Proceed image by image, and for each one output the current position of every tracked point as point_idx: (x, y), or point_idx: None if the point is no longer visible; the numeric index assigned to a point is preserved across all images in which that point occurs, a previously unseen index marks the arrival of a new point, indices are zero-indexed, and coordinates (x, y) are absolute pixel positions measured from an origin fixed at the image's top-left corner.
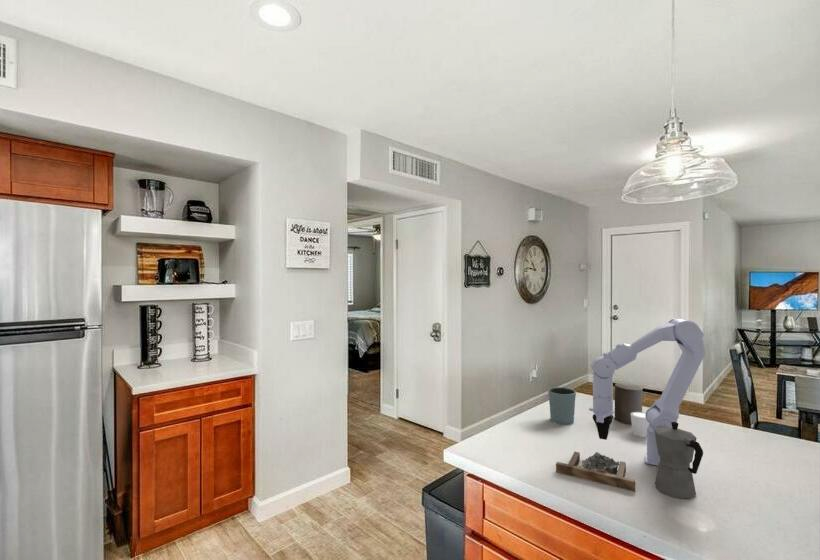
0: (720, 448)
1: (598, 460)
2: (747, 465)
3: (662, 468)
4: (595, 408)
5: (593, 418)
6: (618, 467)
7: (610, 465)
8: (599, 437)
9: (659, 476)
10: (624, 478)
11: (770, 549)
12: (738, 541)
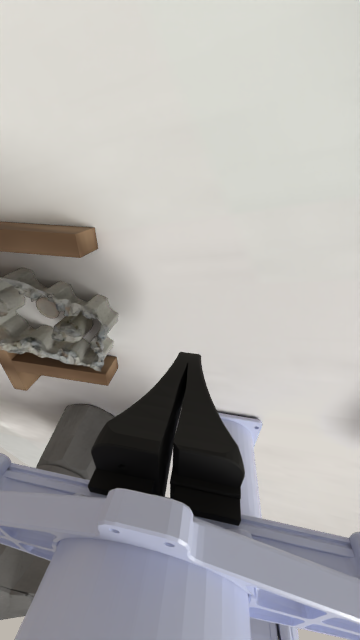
0: (352, 520)
1: (104, 315)
2: (268, 517)
3: (42, 455)
4: (53, 573)
5: (101, 433)
6: (59, 367)
7: (63, 350)
8: (178, 355)
9: (57, 431)
10: (11, 373)
11: (23, 459)
12: (11, 443)
